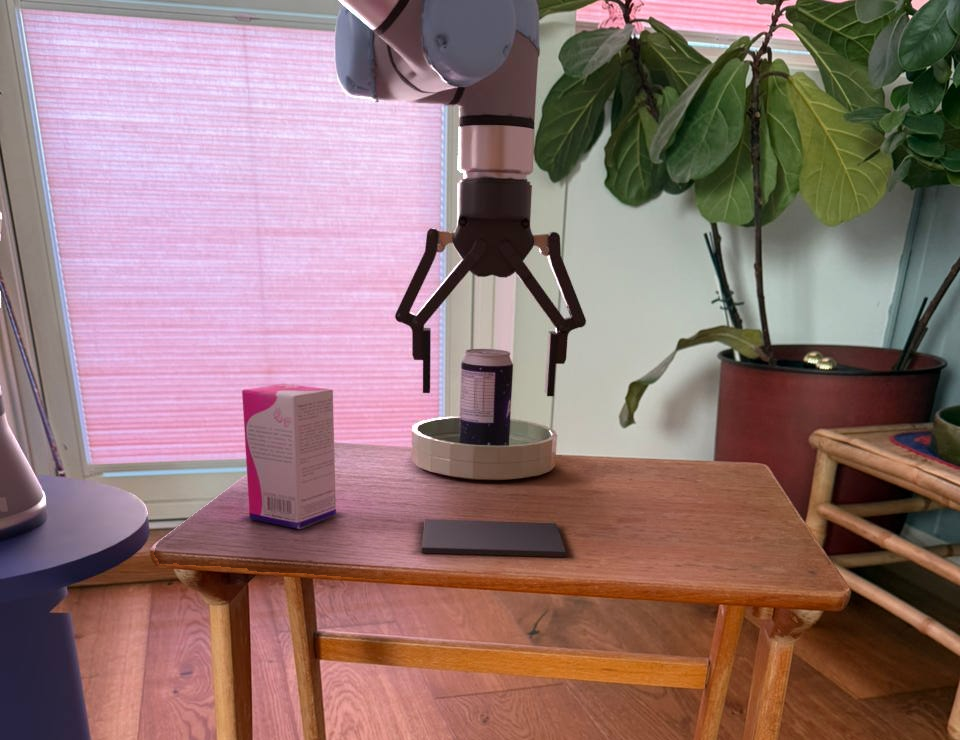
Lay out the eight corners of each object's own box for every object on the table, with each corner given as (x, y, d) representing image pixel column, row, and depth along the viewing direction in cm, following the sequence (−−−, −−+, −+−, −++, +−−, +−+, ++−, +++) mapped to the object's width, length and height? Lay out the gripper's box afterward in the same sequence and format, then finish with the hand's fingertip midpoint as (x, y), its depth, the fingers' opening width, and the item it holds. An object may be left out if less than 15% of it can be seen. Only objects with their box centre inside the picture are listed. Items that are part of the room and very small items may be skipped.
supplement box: (338, 514, 84) (335, 388, 79) (298, 530, 79) (292, 396, 75) (288, 504, 87) (282, 380, 82) (247, 519, 82) (238, 389, 77)
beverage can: (513, 466, 102) (519, 355, 97) (463, 467, 100) (467, 354, 95) (501, 455, 107) (506, 348, 102) (454, 455, 105) (457, 347, 100)
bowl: (408, 481, 96) (409, 443, 94) (414, 447, 111) (415, 414, 109) (561, 486, 97) (564, 449, 95) (546, 451, 111) (549, 418, 110)
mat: (421, 553, 75) (421, 547, 75) (424, 524, 83) (424, 519, 82) (565, 557, 76) (566, 551, 76) (555, 528, 83) (556, 523, 83)
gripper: (612, 183, 95) (595, 389, 104) (374, 175, 94) (377, 384, 103) (624, 180, 89) (605, 401, 97) (367, 171, 88) (372, 395, 97)
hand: (488, 393), depth 100 cm, fingers open, 13 cm apart
